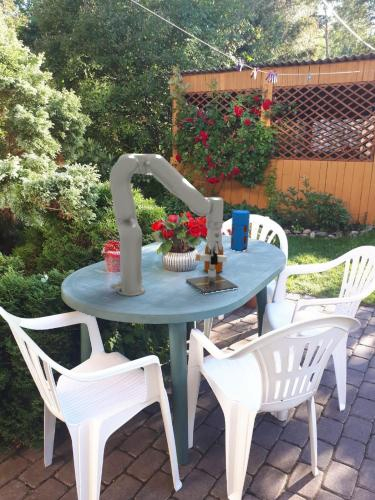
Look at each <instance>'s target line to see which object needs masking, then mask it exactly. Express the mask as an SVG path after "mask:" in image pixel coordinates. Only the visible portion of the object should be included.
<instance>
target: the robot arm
mask: <svg viewBox="0 0 375 500" xmlns="http://www.w3.org/2000/svg"><path fill="white" fill-rule="evenodd" d="M109 173H110V174H109V187H110V193H111V197H112V202H113V203H112V208H113V209H112V210H113V215H114V219H115V224H116V227H117V232H118V234H119V235H118V236H119V265H120V266H119V269H120V280H118V283H116V284H115V283H113V284H110V285H109V288H110V290H113V289H114V290H115V291H116V290H117V293H118V294H119V295H121V296H129V297H132V296H138V295H139V296H140V295H143V294H144V293H145V292H146V286H144V285H143V272H142V271H143V255H142V251H143V250H142V248H143V247H142V246H143V232H142V227H141V226H140V225H139V222H138V217H137V213H136V211H137V207H136V203H135V199H134V195H133V191H132V184H131V182H132V181H131V180H132V176H133V175H134V174H138V175H139V174H144V175H145V174H150V175H152V176H153V178H155V179H156V180H157V181H158V182H159V183H160V184H162V186H164V188H165V189H166V190H168V192H170V193H171V194H172V195H174V196H175V197H177V198H178V199H180V200H181V201H182V202H183V203H184V204H185V205H187V207H188V208H189V210H190V212H192V213H194V214H196V215H197V216H199V217H206V218H205V228H206V229H207V233H206V244H207V246H208V247H209V253H210V255H212V256H211V265H217V264H218V249H219V250H221V249H222V246H223V242H222V241H223V240H222V239H223V238H222V237H223V235H222V229H223V221H224V220H223V219H224V198H222V197H221V196H219V197H218V196H211V197H204V196H205V195H202V193H201V192H200V191H199V190H198V189H197V188H195V187H194V186H193V185H192V184H191V183H190V182H189V181H188V180H187V179H186V178H185V177H184V176H183V175H182V174H181V173H180V172H179V171H178V170H177V169H176V168H175V167H174V166H173V165H171V163H170V162H168V160H167V159H166V158H165V157H164V156H162V155H161V154H157V153H123V154H122V155H120V156H119V158H118V159H117V161H116V162H115V163H114V165H113V166H112V168H111V170H110V172H109ZM209 262H210V261H209Z"/></svg>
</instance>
